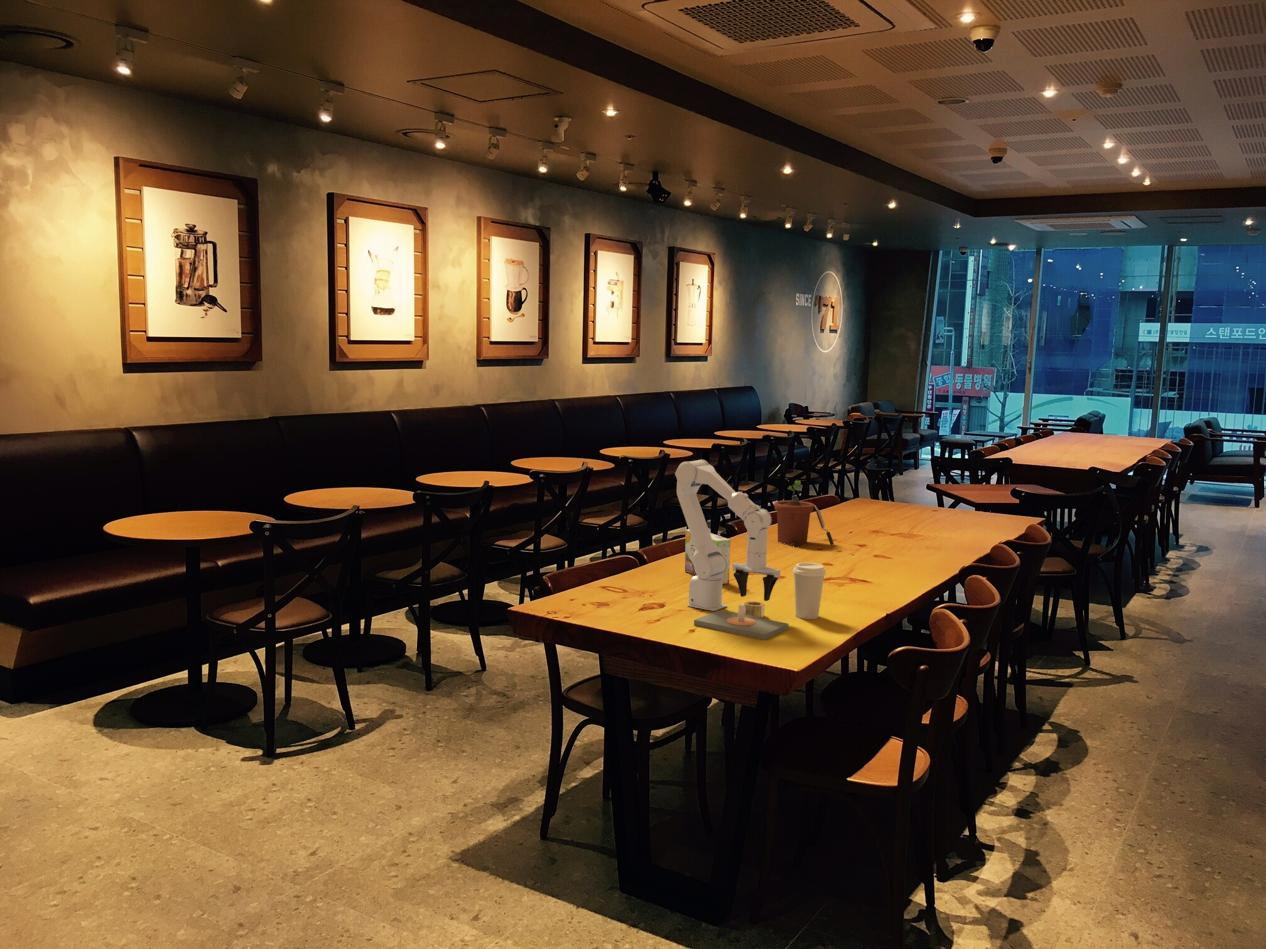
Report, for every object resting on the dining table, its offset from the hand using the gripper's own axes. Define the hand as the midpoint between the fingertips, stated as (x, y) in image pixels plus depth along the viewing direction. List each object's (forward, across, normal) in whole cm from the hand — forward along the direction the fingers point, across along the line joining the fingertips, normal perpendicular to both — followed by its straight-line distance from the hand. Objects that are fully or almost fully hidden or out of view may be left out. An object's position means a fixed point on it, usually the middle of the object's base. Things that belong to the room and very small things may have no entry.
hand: (754, 598), depth 291 cm
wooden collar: (+5, 0, 0) cm, 5 cm away
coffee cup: (+6, +12, +10) cm, 16 cm away
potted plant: (+5, -40, +112) cm, 119 cm away
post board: (+5, +3, -13) cm, 14 cm away
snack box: (+5, -36, +33) cm, 49 cm away
